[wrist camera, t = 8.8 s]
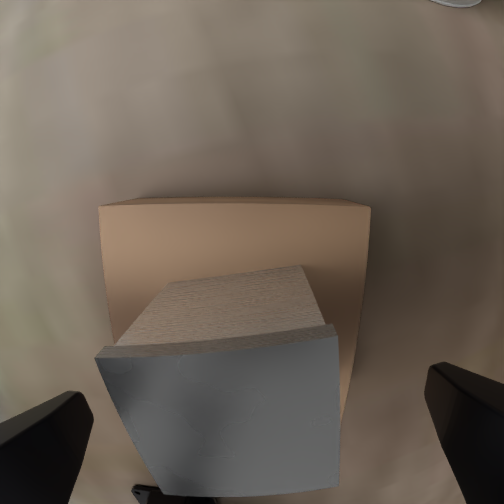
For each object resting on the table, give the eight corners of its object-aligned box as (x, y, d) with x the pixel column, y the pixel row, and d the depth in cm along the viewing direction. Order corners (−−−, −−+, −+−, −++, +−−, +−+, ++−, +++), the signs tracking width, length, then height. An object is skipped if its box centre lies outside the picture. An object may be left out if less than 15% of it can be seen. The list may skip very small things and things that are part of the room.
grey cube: (315, 379, 11) (338, 486, 6) (195, 391, 11) (163, 494, 6) (303, 261, 10) (337, 336, 5) (164, 280, 10) (94, 358, 6)
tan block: (325, 375, 16) (340, 426, 12) (156, 369, 16) (131, 416, 12) (341, 198, 14) (370, 207, 10) (140, 197, 14) (98, 206, 10)
